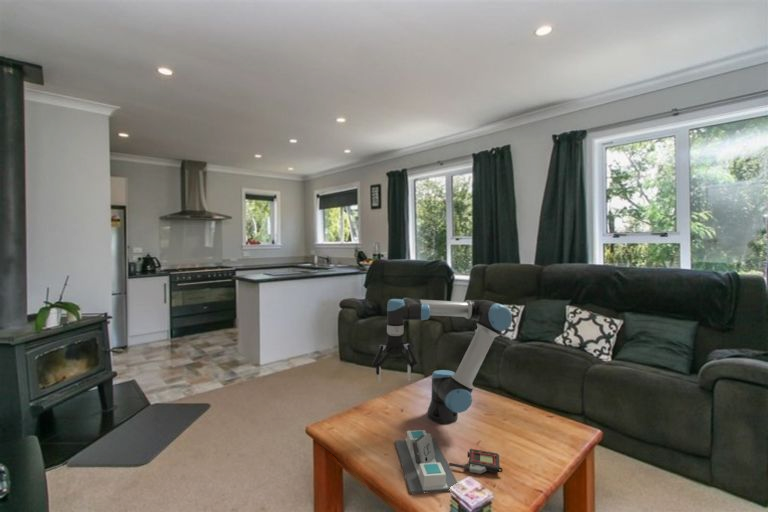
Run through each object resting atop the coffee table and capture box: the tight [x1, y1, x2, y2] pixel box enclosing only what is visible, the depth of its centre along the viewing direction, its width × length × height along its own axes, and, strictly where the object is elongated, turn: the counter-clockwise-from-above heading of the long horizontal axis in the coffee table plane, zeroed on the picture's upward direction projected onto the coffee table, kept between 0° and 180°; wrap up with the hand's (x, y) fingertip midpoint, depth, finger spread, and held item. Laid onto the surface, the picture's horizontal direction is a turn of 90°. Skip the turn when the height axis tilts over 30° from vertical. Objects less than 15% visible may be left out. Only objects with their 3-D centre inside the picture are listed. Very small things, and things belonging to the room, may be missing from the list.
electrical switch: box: [412, 432, 435, 464], centre depth 140 cm, size 9×5×9 cm, turn 142°
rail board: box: [394, 429, 458, 494], centre depth 140 cm, size 18×32×6 cm, turn 8°
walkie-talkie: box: [448, 448, 503, 475], centre depth 139 cm, size 9×4×20 cm
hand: (394, 380), depth 159 cm, fingers open, 13 cm apart
